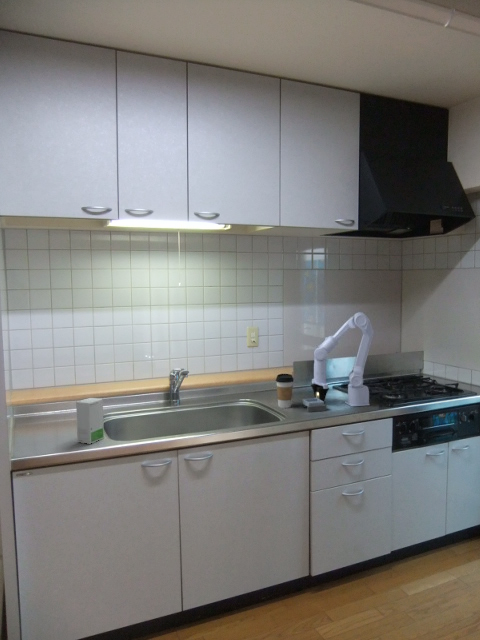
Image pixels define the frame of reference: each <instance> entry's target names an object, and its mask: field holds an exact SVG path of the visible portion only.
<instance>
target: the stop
mask: <svg viewBox="0 0 480 640" xmlns="http://www.w3.org/2000/svg"><path fill="white" fill-rule="evenodd" d="M306 411H307V412H308V413H315V412H322V411H323V412H324V411H325V412H326V411H327V405H326V404H324V405H317V406H307V407H306Z"/></svg>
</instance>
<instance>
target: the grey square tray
mask: <svg viewBox="0 0 480 640" xmlns="http://www.w3.org/2000/svg"><path fill="white" fill-rule="evenodd" d="M302 404H303V406H304V408H307V406H317V405H325V401H324V402H323V401H322V400H320V399H318V398H315V397H313V398H302Z"/></svg>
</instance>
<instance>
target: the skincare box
mask: <svg viewBox="0 0 480 640" xmlns="http://www.w3.org/2000/svg"><path fill="white" fill-rule="evenodd" d="M75 405H76V431H77V432H76V433H77V443H79V442H81V443H80V444H84V443H87V444H86V445H92V444H94V443H97V442H99V441H101V440H103V438H104V439H105V432H104V427H105V426H104V401H103V398H99V397H98V398H96V397H89V398H86V399H85V398H84V399H82V400H78V401H76V402H75ZM98 440H99V441H98ZM96 441H97V442H96ZM91 443H92V444H91Z"/></svg>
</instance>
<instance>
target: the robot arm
mask: <svg viewBox="0 0 480 640" xmlns="http://www.w3.org/2000/svg"><path fill="white" fill-rule="evenodd" d="M357 327H358V328H359V330H360V331H361V333H362V337H361V340H360V343H359V346H358V351H357V355H356V358H355V361H354V364H353V367H352V369H351V371H350V372H349V374H348V381H349V383H348V384H347V400H346V401H344V402H343V403H345V404H346V405H348V406H350V407H364V406H370V391H369V387H368V386H367V385H365V384H364V377H363V376H364V372H365V371H364V370H365V366H366V362H367V359H368V356H369V352H370V348H371V346H372V345H371V344H372V341H373V338H374V334H375V331H374V328H373V325H372V322H371V320H370V318H369V317H368V316H367V315H366V314H365V313H364V312H362V311H360V312H356V313H354V315H352V316H351V317H349V319H348V320H347V321H346V322H344V323H343V324H342V325H341V327H340V328H339V329H338V330H337V331H336V332H335V333H334V334H333V335H329V336H328V337H327V336H326V337H325V338H324V341H323V342H322V343H320V344H319V345H317V346H318V347H317V348H315V349H314V352H313V357H314V360H313V361H314V363H313V378H312V379H311V384H310V387H311V389H312V390H313V395H314V398H316V391H318V393H319V399H320V400H322V401H323V402H324V403H325V401H326V397H327V394H328V391H329V390H330V388H329V384H328V383H327V373H326V372H327V363H326V358H327V355H329V354H330V353H331V352H332V351H333V350H334V349H335V348H336V347H337V346H338V344H339V340H340V339H341V338H342V337H343V336H345V334H346V333H348V332H349V331H350V330H352V329H355V328H357Z"/></svg>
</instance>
